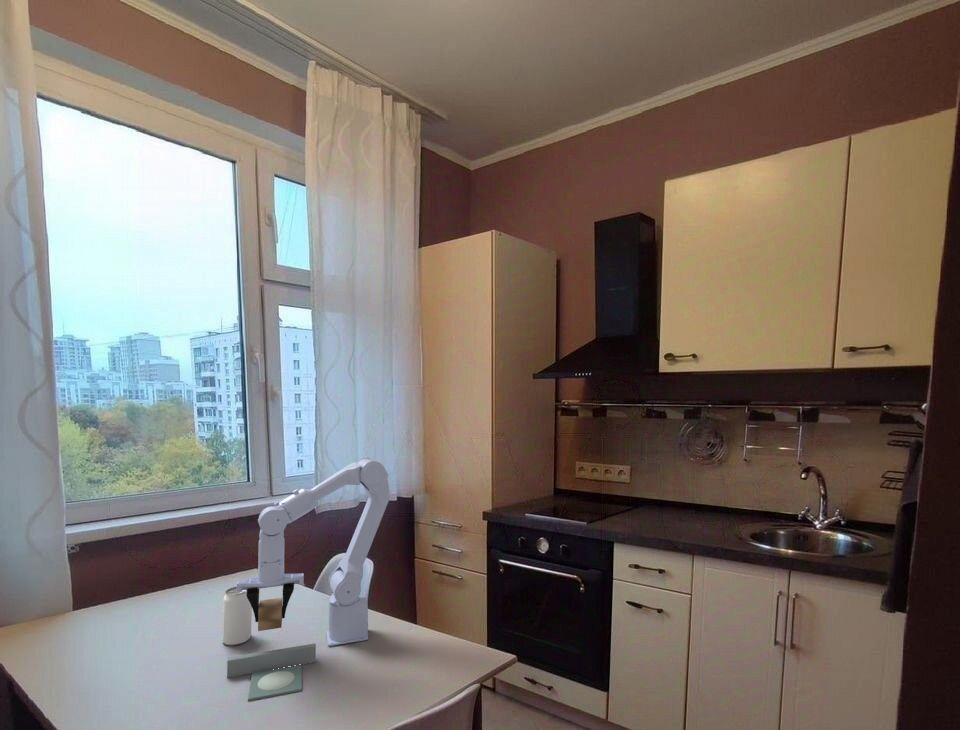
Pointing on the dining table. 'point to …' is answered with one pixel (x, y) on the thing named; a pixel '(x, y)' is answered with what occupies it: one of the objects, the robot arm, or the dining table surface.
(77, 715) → the dining table surface
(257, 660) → the low wall
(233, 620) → the can
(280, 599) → the walnut block
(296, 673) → the mat
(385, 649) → the dining table surface
